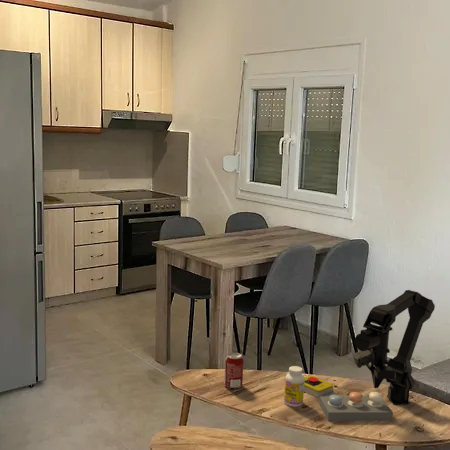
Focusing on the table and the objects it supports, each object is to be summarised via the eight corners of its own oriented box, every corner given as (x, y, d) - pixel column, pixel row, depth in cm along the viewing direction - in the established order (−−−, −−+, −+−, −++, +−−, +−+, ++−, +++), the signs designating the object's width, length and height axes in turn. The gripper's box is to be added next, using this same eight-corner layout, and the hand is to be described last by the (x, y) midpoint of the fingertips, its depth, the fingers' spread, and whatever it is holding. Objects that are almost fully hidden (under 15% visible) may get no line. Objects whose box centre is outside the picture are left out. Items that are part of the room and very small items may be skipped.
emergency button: (308, 370, 226) (339, 383, 215) (307, 381, 226) (338, 394, 215) (292, 376, 219) (323, 390, 208) (291, 387, 220) (322, 401, 209)
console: (379, 404, 208) (380, 395, 207) (392, 420, 196) (393, 411, 195) (319, 404, 206) (319, 395, 205) (327, 420, 194) (328, 411, 193)
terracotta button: (360, 396, 202) (360, 392, 202) (364, 402, 198) (364, 397, 198) (347, 396, 202) (348, 392, 202) (351, 402, 198) (351, 397, 197)
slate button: (340, 399, 202) (340, 394, 202) (343, 405, 198) (344, 400, 197) (327, 399, 201) (327, 394, 201) (331, 405, 197) (331, 400, 197)
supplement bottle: (280, 402, 206) (282, 368, 204) (291, 397, 210) (293, 363, 208) (295, 409, 201) (297, 373, 199) (306, 403, 206) (309, 368, 204)
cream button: (379, 396, 203) (380, 392, 203) (384, 402, 199) (384, 397, 198) (367, 396, 203) (367, 392, 202) (371, 402, 198) (371, 397, 198)
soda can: (242, 390, 214) (243, 359, 213) (224, 389, 214) (225, 358, 213) (242, 382, 221) (243, 352, 219) (224, 381, 221) (225, 351, 219)
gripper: (348, 334, 206) (345, 376, 209) (364, 354, 188) (361, 400, 190) (379, 335, 207) (375, 376, 209) (398, 354, 189) (394, 400, 191)
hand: (375, 387), depth 200 cm, fingers closed
